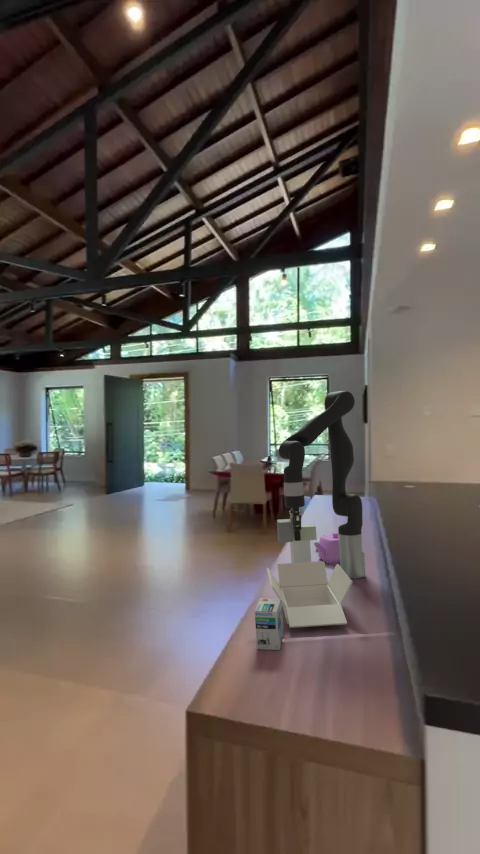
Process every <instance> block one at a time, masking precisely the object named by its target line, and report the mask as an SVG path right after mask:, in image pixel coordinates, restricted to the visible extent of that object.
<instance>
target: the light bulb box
mask: <svg viewBox="0 0 480 854" xmlns="http://www.w3.org/2000/svg"><path fill="white" fill-rule="evenodd" d="M283 617H284V613H283V607H282V599H279V598H261V597H260V599H259V600H258V603H257V605H256V607H255V610H254V622H255V639H256V649H257V650H264V651H265V650H267V651H268V650H269V651H280V650H281V646H282V643H283V639H284V638H283V637H284V634H285V633H284V618H283Z"/></svg>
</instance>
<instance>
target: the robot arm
mask: <svg viewBox="0 0 480 854" xmlns="http://www.w3.org/2000/svg"><path fill="white" fill-rule="evenodd" d="M354 406H355V397H354V395H353V393H351V392H350V391H348V390H338V391H332V392H328V393H327V395H326V396H325V397H324V411H323V412H321V413H320V414H318V415H316V416H314V417H313V418H311V419H310V420H308V421H307V422H306V423H305V424H304V425H303V426H301V428H300V429H299V430H297V432H295V433H293V434H292V435H290V436H289V437H287V438H286V439H285V440H283V441H282V442H281V443H280V445H279V447H278V455H279V456H280V458H281V459H284V460H287V461H288V460H289V461H288V465H287V466H286V467H284V468H283V496H284V506H285V508H290V510H289V519H290V520H291V521H292V526H293V527H294V529H293V530H294V538H295V541H300V540H301V536H300V531H301V525H302V512H301V510H300V508H303V507H304V506H305V505H306V503H305V487H304V486H305V485H304V481H303V478H304V477H303V467H304V463H305V456H306V449H305V447H308V446H310V445H312V444H313V443H314V442H315V440H317V439H318V438H319V436H321V435H322V434H323V433H324V432H325V431H326V430H327V429H328V439H329V440H328V441H329V451H330V462H331V476H332V478H331V479H332V489H331V490H332V491H331V492H332V496H331V501H332V502H331V503H332V504H331V505H332V510H333V512H334V514H335V515H337V516H340V517H347V522H346V523H344V524H340V525H339V526H338V528H337V532H338V533H339V550H340V563H339V566H340V567H341V568H342V569H343V571H344V572H345V573H346V574H347V575H348V577H349V578H350V579H351V580H353V579H361V578H365V577H366V562H365V560H366V559H365V552H364V551H363V536H362V535H363V534H362V528H363V522H364V521H363V503H362V502H363V501H362V499H361V498H362V497H360V496H359V495H358V494H355V493H346V483H347V482H346V481H347V477H348V476H349V474H350V472H351V470H352V468H353V466H354V460H355V459H354V457H355V455H354V448H353V447H354V445H353V442H352V441H351V438H350V437H349V435H348V433H347V432H346V430H345V428H344V425H343V419H342V418H343V417H344V416H345V415H347V414H348V413H349V412H351V411H353V408H354ZM296 525H299V527H296Z"/></svg>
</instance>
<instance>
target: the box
mask: <svg viewBox="0 0 480 854" xmlns="http://www.w3.org/2000/svg"><path fill="white" fill-rule="evenodd" d="M276 526H277V527H276V528H277V541H278V542H279V543H290V542H293V541H295V538H294V530H293V529H294V527H293V526H292V521H291V520H290V518H284V519H282V518H281V519H277V520H276ZM296 527H299V525H296ZM300 536H301V540H300V541H304V540H310V541H316V540H318V539H317V526H316V524H301V531H300Z"/></svg>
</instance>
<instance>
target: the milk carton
mask: <svg viewBox="0 0 480 854" xmlns="http://www.w3.org/2000/svg"><path fill="white" fill-rule="evenodd" d="M289 547H290V548H289V549H290V563H303V562H312V554H311V540H304V541H293V542H289Z"/></svg>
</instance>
